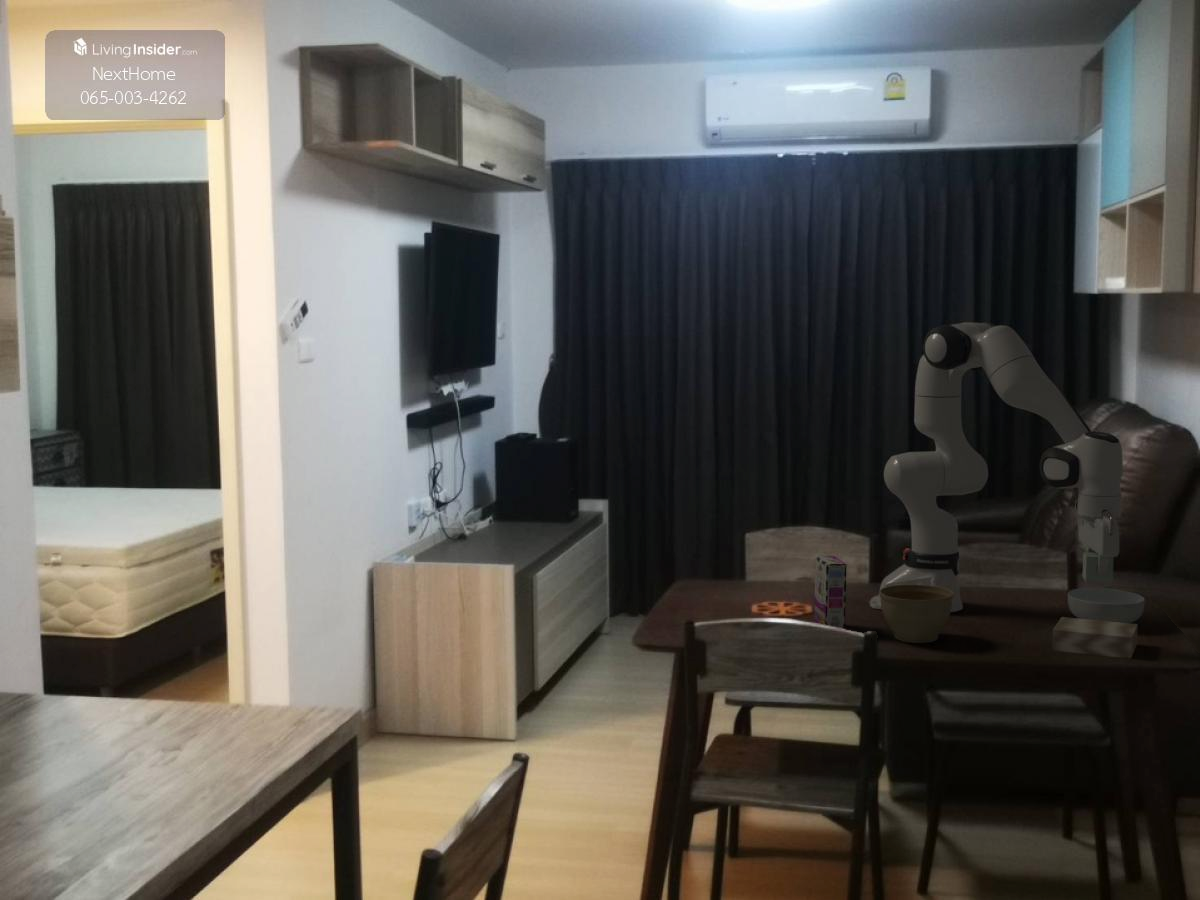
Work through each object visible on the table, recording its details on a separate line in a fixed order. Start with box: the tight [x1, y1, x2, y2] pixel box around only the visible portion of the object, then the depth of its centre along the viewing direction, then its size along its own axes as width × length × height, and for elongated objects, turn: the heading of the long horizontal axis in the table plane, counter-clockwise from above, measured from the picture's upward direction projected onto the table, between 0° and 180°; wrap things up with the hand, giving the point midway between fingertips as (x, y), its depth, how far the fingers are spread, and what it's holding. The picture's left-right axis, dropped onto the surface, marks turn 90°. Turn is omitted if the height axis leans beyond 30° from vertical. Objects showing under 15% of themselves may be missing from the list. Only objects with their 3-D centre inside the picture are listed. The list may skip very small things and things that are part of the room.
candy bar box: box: [813, 555, 848, 629], centre depth 312 cm, size 11×5×16 cm, turn 5°
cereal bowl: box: [1067, 587, 1146, 624], centre depth 314 cm, size 17×17×7 cm
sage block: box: [1082, 551, 1114, 584], centre depth 292 cm, size 6×6×6 cm
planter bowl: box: [879, 585, 953, 644], centre depth 302 cm, size 16×16×11 cm
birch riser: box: [1051, 616, 1139, 660], centre depth 294 cm, size 16×13×5 cm
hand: (1097, 570), depth 292 cm, fingers closed on sage block, 6 cm apart
